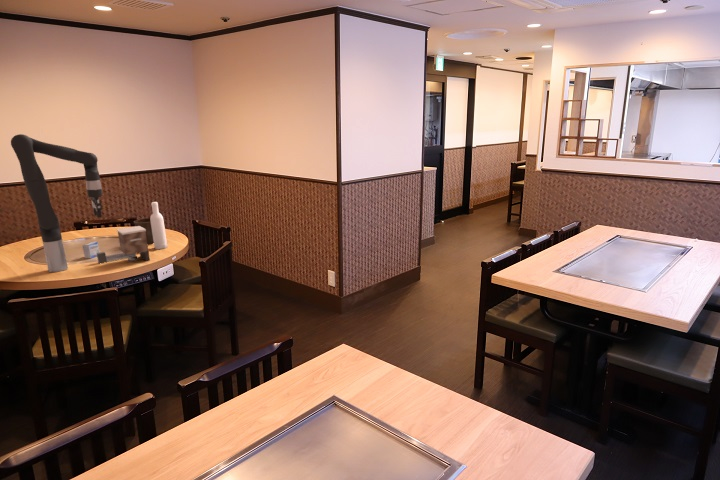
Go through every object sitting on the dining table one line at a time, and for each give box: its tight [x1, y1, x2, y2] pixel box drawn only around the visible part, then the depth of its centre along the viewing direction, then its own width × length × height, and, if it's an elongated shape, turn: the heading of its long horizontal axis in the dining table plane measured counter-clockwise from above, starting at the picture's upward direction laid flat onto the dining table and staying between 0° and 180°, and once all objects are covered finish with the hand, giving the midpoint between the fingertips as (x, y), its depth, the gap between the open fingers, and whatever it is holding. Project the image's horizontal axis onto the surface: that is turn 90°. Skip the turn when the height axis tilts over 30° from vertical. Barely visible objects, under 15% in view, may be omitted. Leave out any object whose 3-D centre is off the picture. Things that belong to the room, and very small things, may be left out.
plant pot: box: [133, 217, 154, 245], centre depth 316 cm, size 15×15×16 cm
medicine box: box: [82, 241, 100, 259], centre depth 289 cm, size 8×4×9 cm, turn 168°
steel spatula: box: [96, 251, 137, 265], centre depth 281 cm, size 20×3×6 cm, turn 129°
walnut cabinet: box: [116, 225, 151, 262], centre depth 275 cm, size 13×14×19 cm
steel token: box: [127, 255, 139, 262], centre depth 279 cm, size 5×5×2 cm
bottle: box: [149, 201, 168, 250], centre depth 301 cm, size 8×8×30 cm
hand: (98, 216), depth 271 cm, fingers open, 8 cm apart
